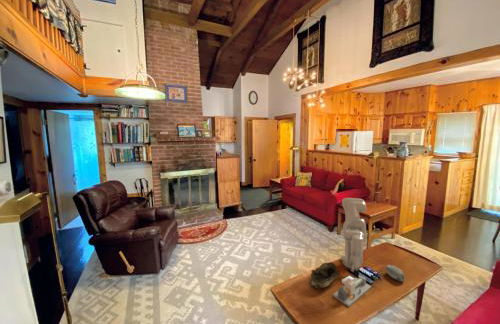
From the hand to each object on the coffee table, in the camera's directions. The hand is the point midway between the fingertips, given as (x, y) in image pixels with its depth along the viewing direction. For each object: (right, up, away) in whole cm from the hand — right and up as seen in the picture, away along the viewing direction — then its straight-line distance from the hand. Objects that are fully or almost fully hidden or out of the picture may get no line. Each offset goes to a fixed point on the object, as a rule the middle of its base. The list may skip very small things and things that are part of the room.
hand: (356, 274), depth 151 cm
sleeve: (-7, -10, -5) cm, 13 cm away
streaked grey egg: (+37, -9, +12) cm, 40 cm away
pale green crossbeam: (-4, -9, -3) cm, 10 cm away
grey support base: (-4, -12, -2) cm, 13 cm away
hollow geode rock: (-21, -12, +8) cm, 25 cm away
